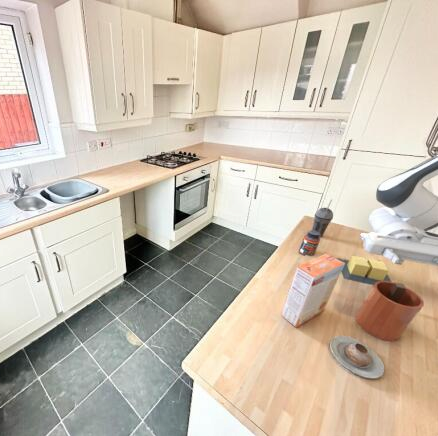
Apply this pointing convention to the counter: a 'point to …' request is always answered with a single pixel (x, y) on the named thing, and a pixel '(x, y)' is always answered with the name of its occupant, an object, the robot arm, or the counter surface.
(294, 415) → the counter surface
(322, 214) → the beverage cup
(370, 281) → the butter dish
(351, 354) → the grey lid
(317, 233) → the supplement bottle
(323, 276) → the cracker box
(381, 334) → the crock
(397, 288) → the knife
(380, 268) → the butter
